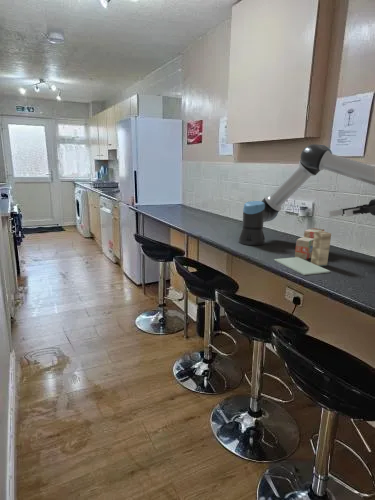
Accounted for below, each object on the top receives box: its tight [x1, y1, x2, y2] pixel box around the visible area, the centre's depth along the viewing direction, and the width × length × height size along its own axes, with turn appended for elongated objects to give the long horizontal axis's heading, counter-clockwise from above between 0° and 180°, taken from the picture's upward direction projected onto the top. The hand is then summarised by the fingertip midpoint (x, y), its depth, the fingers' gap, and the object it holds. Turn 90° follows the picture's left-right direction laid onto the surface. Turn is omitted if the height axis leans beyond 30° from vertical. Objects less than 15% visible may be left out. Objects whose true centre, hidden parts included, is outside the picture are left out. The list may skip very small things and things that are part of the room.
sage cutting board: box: [273, 256, 331, 276], centre depth 148 cm, size 22×14×1 cm, turn 19°
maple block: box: [310, 230, 332, 267], centre depth 149 cm, size 5×5×15 cm
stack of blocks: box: [294, 227, 325, 261], centre depth 166 cm, size 21×6×12 cm, turn 140°
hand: (336, 213), depth 150 cm, fingers open, 13 cm apart
